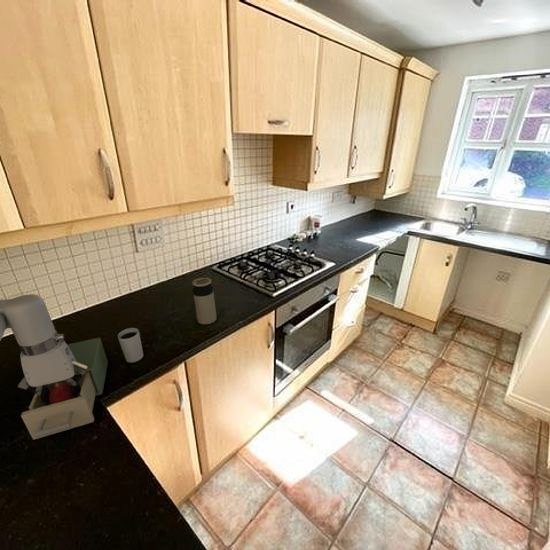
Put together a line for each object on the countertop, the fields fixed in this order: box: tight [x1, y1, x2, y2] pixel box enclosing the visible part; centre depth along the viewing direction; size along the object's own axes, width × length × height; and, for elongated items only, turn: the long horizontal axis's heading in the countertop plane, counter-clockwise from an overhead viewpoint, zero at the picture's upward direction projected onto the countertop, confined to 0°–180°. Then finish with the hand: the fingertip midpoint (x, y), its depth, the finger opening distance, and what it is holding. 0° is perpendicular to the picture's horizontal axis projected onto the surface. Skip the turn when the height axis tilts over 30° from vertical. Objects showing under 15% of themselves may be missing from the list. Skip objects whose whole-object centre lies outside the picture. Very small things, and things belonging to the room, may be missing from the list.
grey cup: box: [117, 327, 144, 363], centre depth 104 cm, size 7×7×10 cm
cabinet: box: [67, 337, 109, 397], centre depth 93 cm, size 16×15×10 cm
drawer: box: [20, 371, 97, 441], centre depth 80 cm, size 20×14×8 cm
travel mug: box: [191, 277, 218, 325], centre depth 123 cm, size 8×8×18 cm
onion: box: [49, 382, 74, 404], centre depth 81 cm, size 6×6×8 cm
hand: (63, 397), depth 81 cm, fingers closed on onion, 5 cm apart
